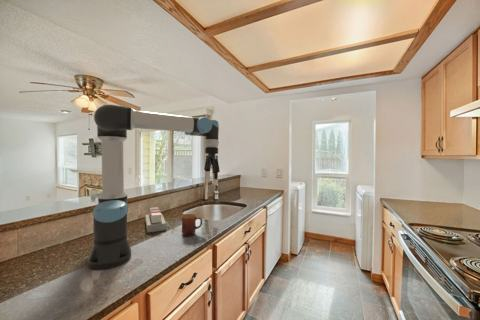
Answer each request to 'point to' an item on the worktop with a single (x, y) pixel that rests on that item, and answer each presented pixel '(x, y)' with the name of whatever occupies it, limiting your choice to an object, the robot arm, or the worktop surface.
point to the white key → (156, 217)
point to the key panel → (155, 224)
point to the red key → (155, 211)
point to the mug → (189, 224)
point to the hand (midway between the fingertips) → (211, 183)
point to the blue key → (153, 209)
